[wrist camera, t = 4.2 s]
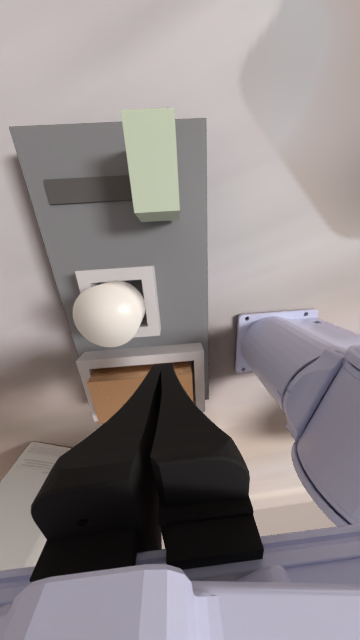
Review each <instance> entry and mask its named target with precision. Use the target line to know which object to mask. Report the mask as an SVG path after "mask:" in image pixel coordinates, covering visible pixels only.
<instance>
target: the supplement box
mask: <svg viewBox="0 0 360 640" xmlns="http://www.w3.org/2000/svg"><path fill="white" fill-rule="evenodd" d="M70 449H72V448H67V447H62V446H56V445H51V444H44V443H39V442H31V443H30V444H29V445H28V446H27V448H26V449H25V450H24V452H23V453H22V454H21V455H20V457H19V458H18V459H17V461H16V462H15V463H14V465H13V466H12V467H11V468H10V470H9V471H8V472H7V474H6V475H5V476H4V478H3V479H2V480H1V482H0V571H2V570H10V569H18V568H25V567H33V566H36V563H37V561H38V559H39V557H40V554H41V552H42V550H43V548H44V545H45V543H46V541H47V539H46V538H45V536H44V535H43V533H42V532H41V531H40V529H39V528H38V526H37V525H36V523H35V522H34V520H33V518H32V516H31V505H32V503H33V501H34V499H35V497H36V496H37V494H38V492H39V490H40V489H41V487H42V485H43V483H44V481H45V480H46V478H47V476H48V474H49V472H50V471H51V469H52V467H53V466H54V464H55V463H56V461H57V460H58V458H59V457H60V456H61V455H63V454H64V453H66V452H67V451H69V450H70Z"/></svg>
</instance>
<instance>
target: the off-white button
mask: <svg viewBox="0 0 360 640" xmlns="http://www.w3.org/2000/svg"><path fill="white" fill-rule="evenodd" d="M145 309H146V308H145V301H144V299H143V297H142V295H141V293H140V292H139V291H138V290H137V289H136V288H135V287H134V286H132V285H131V284H129V283H127V282H124V281H109V282H106V283H103V284H100V285H97V286H94V287H91V288H89V289H86V290H85V291H83V292H82V293H81V294H80V295H79V296H78V297H77V299H76V301H75V303H74V306H73V320H74V323H75V326H76V327H77V329H78V331H79V332H80V333H81V334H82V336H83V337H85V338H86V339H87V340H88V341H90V342H92V343H94V344H96V345H99V346H103V347H117V346H121V345H123V344H125V343H127V342H129V341H130V340H131V339H132V338H133V337H134V336H135V334H136V332H137V330H138V328H139V326H140V324H141V322H142V320H143V318H144V315H145Z"/></svg>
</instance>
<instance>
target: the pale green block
mask: <svg viewBox="0 0 360 640" xmlns="http://www.w3.org/2000/svg"><path fill="white" fill-rule="evenodd" d="M121 116H122V124H123V131H124V139H125V146H126V154H127V162H128V169H129V177H130V184H131V192H132V199H133V207H134V213H135V215H136V216H137V217H138V219H139V220H140V221H141V222H153V221H170V220H178V218H179V213H180V202H179V184H178V166H177V147H176V129H175V111H174V108H155V109H131V110H121Z"/></svg>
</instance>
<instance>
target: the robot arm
mask: <svg viewBox="0 0 360 640" xmlns="http://www.w3.org/2000/svg"><path fill="white" fill-rule="evenodd" d="M305 312H306V314H305V315H304V313H305ZM246 317H248V319H247V320H245V318H246ZM317 317H318V310H316V309H302V310H289V311H276V312H263V313H250V314H241V315H239V316H238V324H237V342H236V361H235V370H236V372H238V373H244V372H254V373H255V374H256V376H257V377H258V379H259V380H260V381H261V383H262V384H263V385H264V387H265V388H266V389H267V391H268V392H269V393H270V395H271V396H272V397H273V399H274V400H275V401H276V403H277V404H278V405H279V407H280V408H281V409H282V411H283V412H284V414H285V415H286V417H287V423H286V426H285V427H286V428H287V429H288V431H289V432H290V434H291V435H292V437H293V438H294V440H295V442H294V444H293V446H292V452H291V455H292V461H293V465H294V468H295V470H296V473H297V475H298V477H299V479H300V481H301V482H302V484H303V486H304V487H305V489H306V490H307V492H308V493H309V495H310V496H311V498H312V499H313V500H314V501H315V503H316V504H317V505H318V507H319V508H320V509H321V510H322V511H323V512H324V513H325V515H326V516H327V517H328V518H329V519H330V520H331V521H332V522H333V523H334V524H335V525H336V526H337V527H330V528H323V529H316V530H307V531H301V532H292V533H284V534H277V535H269V536H262V537H260V535H259V532H258V529H257V526H256V523H255V520H254V517H253V507H252V504H251V501H250V498H249V495H248V494H249V481H250V476H249V471H248V468H247V466H246V463H245V461H244V459H243V457H242V455H241V453H240V452H239V450H238V448H237V446H236V445H235V443H234V441H233V440H232V438H231V437H230V436H228V435H227V434H226V433H225V432H223V431H222V430H221V429H220V428H218V427H217V426H216V425H215V424H214V423H213V422H212V421H211V420H210V419H208V417H207V416H206V415H205V414H204V413H203V412H202V411H201V410H200V409H199V408H198V407H197V406H196V405H195V403H194V402H193V401H192V400H191V398H190V397H189V396H188V394H187V393H186V391H185V390H184V388H183V387H182V385H181V383H180V381H179V379H178V377H177V375H176V373H175V370H174V366H173V364H172V363H166V364H156V365H153V366H152V367H151V369H150V370H149V372H148V374H147V375H146V377H145V378H144V380H143V381H142V383H141V384H140V386H139V387H138V388H137V390H136V391H135V392H134V393H133V395H132V396H131V397H130V398H129V399H128V401H127V402H126V403H125V404H124V405H123V406H122V407H121V408H120V409H119V410H118V411H117V412H116V413H115V414H114V415H113V416H112V417H111V418H110V419H109V420H108V421H107V422H105V423H104V424H103V425H102V426H101V427H100V428H98V429H97V430H96V431H95V432H93V433H92V434H91V435H90V436H88V437H87V438H86V439H84V440H83V441H82V442H80V443H79V444H77V445H76V446H74V447H73V448H72V449H70V450H69V451H67V452H66V453H64V454H63V455H61V456H60V457H59V458H58V460H57V461H56V463H55V464H54V466H53V467H52V469H51V471H50V472H49V474H48V476H47V478H46V480H45V481H44V483H43V485H42V487H41V489H40V490H39V492H38V494H37V496H36V497H35V499H34V501H33V503H32V505H31V516H32V518H33V520H34V522H35V523H36V525H37V526H38V528H39V529H40V531H41V532H42V533H43V535H44V536H45V538H46V539H47V541H46V543H45V545H44V548H43V550H42V552H41V554H40V557H39V559H38V561H37V563H36V566H33V567H25V568H18V569H10V570H2V571H0V640H360V335H359V334H357V333H354V332H352V331H349V330H347V329H344V328H342V327H339V326H336V325H334V324H331V323H329V322H326V321H324V320H321V319H319V318H317ZM242 368H244V369H242ZM161 532H162V536H163V540H164V544H165V549H162V547H161V546H162V545H161Z"/></svg>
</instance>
